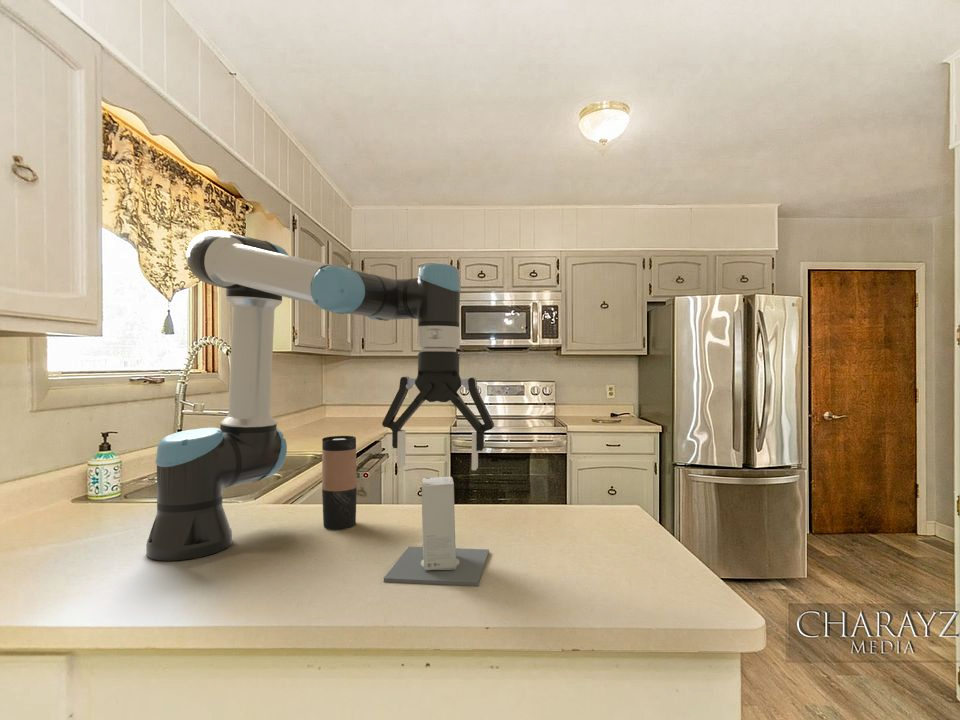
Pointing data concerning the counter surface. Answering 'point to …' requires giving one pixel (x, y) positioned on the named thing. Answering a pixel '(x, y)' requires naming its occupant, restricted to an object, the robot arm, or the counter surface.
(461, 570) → the mat
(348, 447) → the travel mug
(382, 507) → the counter surface
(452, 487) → the skincare box
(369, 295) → the robot arm
